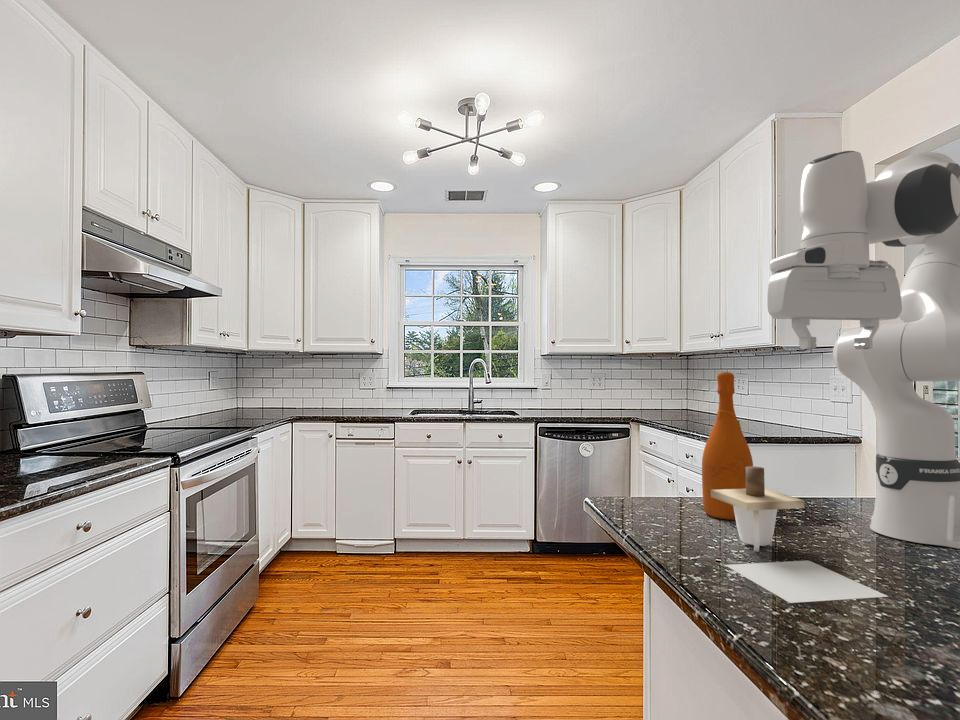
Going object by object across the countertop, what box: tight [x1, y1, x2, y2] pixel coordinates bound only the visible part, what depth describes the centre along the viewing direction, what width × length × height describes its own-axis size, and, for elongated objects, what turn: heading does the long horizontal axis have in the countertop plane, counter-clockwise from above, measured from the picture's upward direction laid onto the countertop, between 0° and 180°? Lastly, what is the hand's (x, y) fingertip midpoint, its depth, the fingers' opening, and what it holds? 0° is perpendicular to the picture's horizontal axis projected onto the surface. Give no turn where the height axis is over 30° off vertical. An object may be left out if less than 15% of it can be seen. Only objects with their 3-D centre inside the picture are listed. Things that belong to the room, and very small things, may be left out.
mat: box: [724, 559, 889, 604], centre depth 76 cm, size 14×14×1 cm
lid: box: [711, 465, 805, 510], centre depth 91 cm, size 10×10×6 cm
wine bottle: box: [701, 371, 754, 521], centre depth 114 cm, size 10×10×30 cm
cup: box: [733, 505, 778, 553], centre depth 90 cm, size 7×10×8 cm
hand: (835, 349), depth 82 cm, fingers open, 8 cm apart
